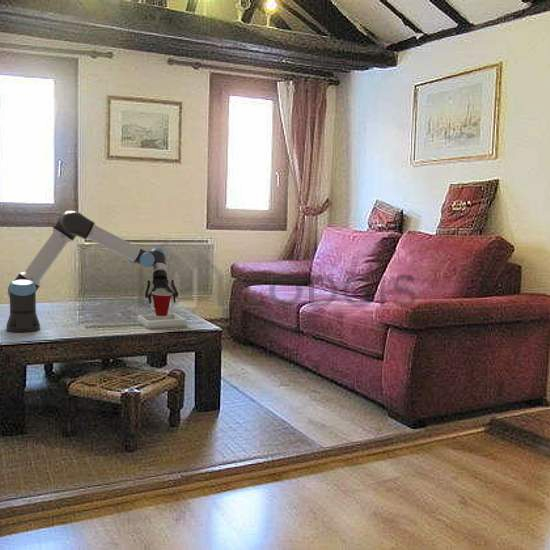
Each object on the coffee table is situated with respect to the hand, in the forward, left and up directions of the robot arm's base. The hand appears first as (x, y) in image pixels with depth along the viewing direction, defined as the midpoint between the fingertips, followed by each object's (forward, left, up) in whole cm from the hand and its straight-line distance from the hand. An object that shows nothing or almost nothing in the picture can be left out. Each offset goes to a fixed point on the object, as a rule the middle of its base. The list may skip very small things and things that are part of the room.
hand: (162, 307), depth 329 cm
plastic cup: (+1, +3, -5) cm, 6 cm away
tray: (0, +3, -9) cm, 10 cm away
